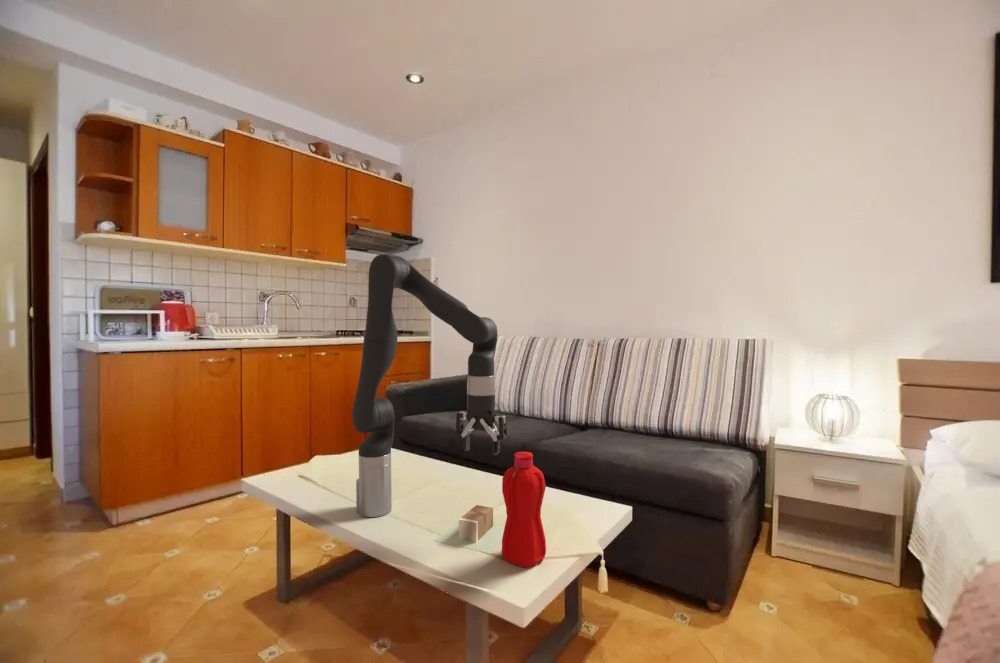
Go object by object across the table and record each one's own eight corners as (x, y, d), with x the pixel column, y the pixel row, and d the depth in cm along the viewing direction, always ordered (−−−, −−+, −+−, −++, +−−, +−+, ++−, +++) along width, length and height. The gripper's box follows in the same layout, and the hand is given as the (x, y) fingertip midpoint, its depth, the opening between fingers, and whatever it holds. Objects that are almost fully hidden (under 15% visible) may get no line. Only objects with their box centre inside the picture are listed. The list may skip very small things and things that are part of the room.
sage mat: (433, 542, 116) (433, 540, 116) (460, 520, 128) (460, 518, 128) (490, 555, 109) (490, 553, 109) (513, 530, 122) (513, 529, 122)
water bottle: (491, 563, 106) (490, 455, 105) (520, 544, 114) (519, 445, 114) (523, 577, 100) (523, 463, 99) (551, 556, 108) (551, 452, 108)
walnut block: (476, 522, 126) (458, 538, 117) (476, 504, 126) (458, 519, 116) (493, 526, 124) (476, 542, 115) (493, 507, 124) (476, 522, 114)
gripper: (450, 392, 121) (450, 452, 122) (499, 396, 115) (499, 459, 116) (464, 388, 128) (464, 445, 128) (511, 391, 122) (511, 452, 122)
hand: (481, 452), depth 122 cm, fingers open, 8 cm apart
